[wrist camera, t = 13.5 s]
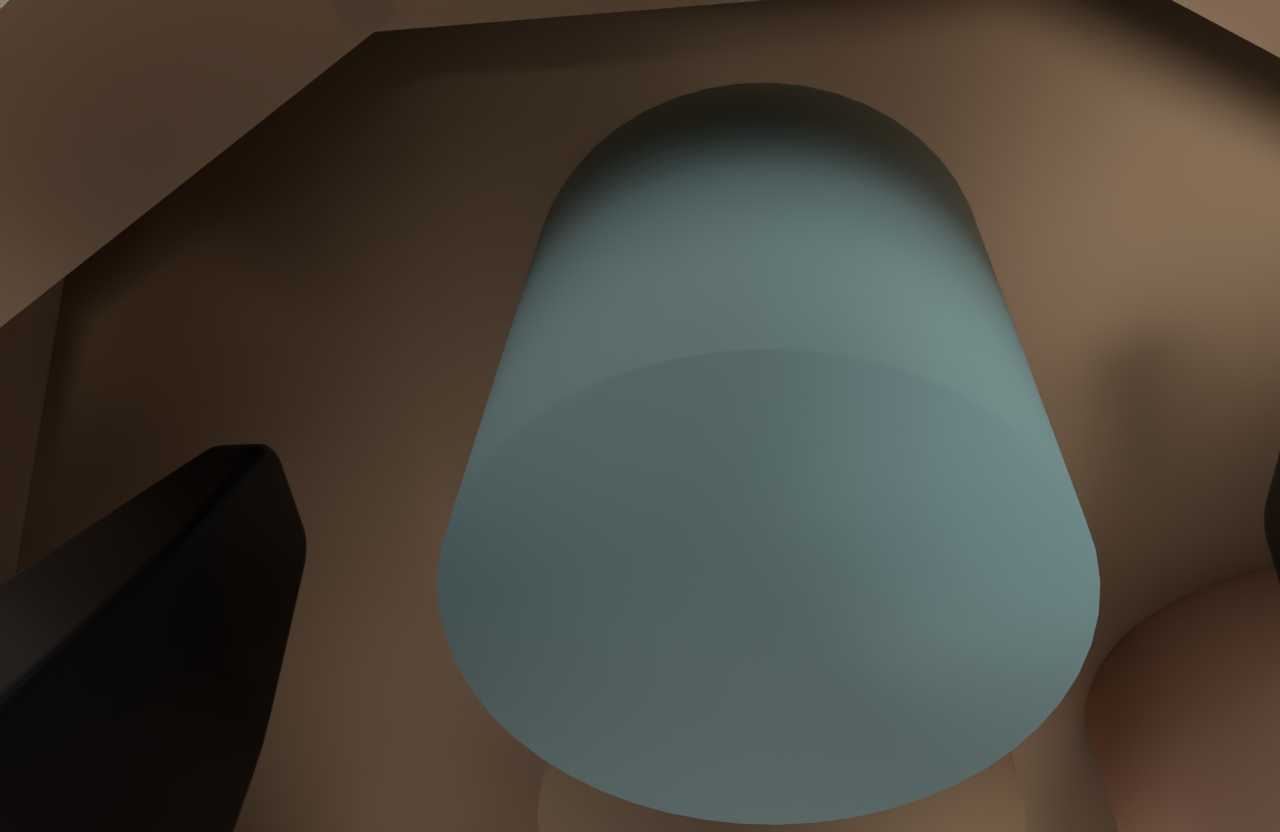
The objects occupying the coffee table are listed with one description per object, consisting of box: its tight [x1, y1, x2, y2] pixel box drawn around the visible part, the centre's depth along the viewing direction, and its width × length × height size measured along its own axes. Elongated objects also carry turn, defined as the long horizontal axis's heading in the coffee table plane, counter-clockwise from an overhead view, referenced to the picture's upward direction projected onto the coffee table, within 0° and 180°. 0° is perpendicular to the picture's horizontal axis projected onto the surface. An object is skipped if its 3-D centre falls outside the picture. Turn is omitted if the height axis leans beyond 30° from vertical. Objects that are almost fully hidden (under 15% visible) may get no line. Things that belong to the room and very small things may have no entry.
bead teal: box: [437, 83, 1100, 825], centre depth 9 cm, size 4×4×4 cm
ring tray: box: [0, 0, 1280, 832], centre depth 13 cm, size 20×20×3 cm
